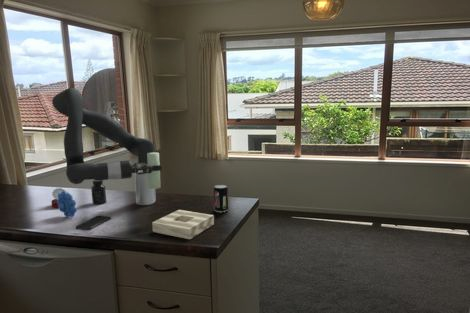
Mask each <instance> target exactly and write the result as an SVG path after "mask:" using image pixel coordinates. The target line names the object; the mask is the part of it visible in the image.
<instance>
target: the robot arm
mask: <svg viewBox="0 0 470 313" xmlns="http://www.w3.org/2000/svg"><path fill="white" fill-rule="evenodd" d="M51 103H52V106H53V108H54V109H55V110H56V111H57V112H58V113H60V114H61V115H64V116H65V117H68V118H67V124H66V128H65V132H64V136H63V137H64V138H63V148H64V156H65V161H66V171H65V174H66V177H67V180H68V181H69V182H70V183H72V184H74V185H79V184H81V183H83V182H84V181H85V180H103V181H108V180H112V181H114V180H124V179H125V180H127V179H131V178H132V177H133V175H134V186H135V203H136V205H137V206H138V205H139V206H149V205H152V204H154V203H155V202H156V201H157V196H156V189H150V188H149V179H148V173H152V172H153V171H160V172H161V171H162V165H161V164H160V165H156V166H148V160H147V153H155V145H154V143H153V141H152V140H151V139H148V138H140V137H137V136H135V135H134V134H131V133H130V132H128V131H127V130H126V129H125V128H124V127H123V125H122V124H121V123H120V122H119V121H117V120H116V119H114V118H113V117H111V116H110V115H108V114H106V113H102V112H98V111H93V110H90V109H86V108H84V96H83V94H82V93H81V91H80V90H79V89H77V88H75V87H69V88H65V89H64V90H62V91H60V92H59V93H57V94H56V95H55V96H53V98H52V101H51ZM83 125H84V126H86V127H87V128H89V129H91V130H93V131H94V132H96V133H98V134H99V135H101V136H102V137H104V138H106V139H108V140H110V141H111V142H114V143H115V144H118V145H120V146H121V147H122V148H124V150H125V149H126V150H127V151H128V152H129V153H131V154H132V155H133V156H136V157H137V161H138V162H133V164H132V162H131V161H130V160H116V161H110V162H100V163H89V162H86V163H85V160H84V158H85V157H84V155H85V154H84V152H85V151H84V143H83ZM148 169H149V170H148Z"/></svg>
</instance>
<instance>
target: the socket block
mask: <svg viewBox="0 0 470 313" xmlns="http://www.w3.org/2000/svg"><path fill="white" fill-rule="evenodd" d="M214 224H215V215H214V214H208V213H201V212H194V211H189V210H183V209H178V210H175V211H173V212H171V213H170V214H167V215H164V216H163V217H161V218H159V219H158V218H157V219H156V220H155V221H152V233H157V234H162V235H166V236H173V237H177V238H182V239H187V240H191V239H193V238H194V237H196V236H198V235H199V234H201V233H202V232H204V231H205V230H207V229H209V228H211V227H212V226H214Z"/></svg>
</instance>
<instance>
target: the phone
mask: <svg viewBox="0 0 470 313" xmlns="http://www.w3.org/2000/svg"><path fill="white" fill-rule="evenodd" d="M110 220H112V216H107V215H96V216H93V217H91V218H89V219H88V220H85V221H83V222H81V223H79V224H77V225H75V229H77V230H85V231H87V230H88V231H91V230H93V229H95V228H97V227H99V226H101V225H103V224H105V223H107V222H108V221H110ZM104 222H105V223H104Z"/></svg>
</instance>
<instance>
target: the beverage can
mask: <svg viewBox="0 0 470 313" xmlns="http://www.w3.org/2000/svg"><path fill="white" fill-rule="evenodd" d="M213 209H214V210H213V211H215V212H216V213H218V212H219V214H222V212H224V213H227V212H228V210H229V188H228V186H227V185H225V184H216V185H214V188H213ZM226 211H227V212H226Z"/></svg>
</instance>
